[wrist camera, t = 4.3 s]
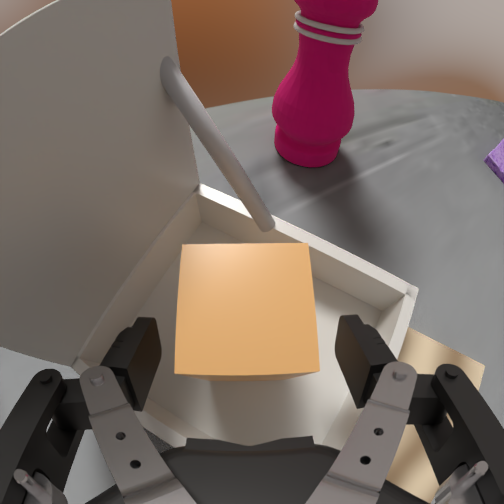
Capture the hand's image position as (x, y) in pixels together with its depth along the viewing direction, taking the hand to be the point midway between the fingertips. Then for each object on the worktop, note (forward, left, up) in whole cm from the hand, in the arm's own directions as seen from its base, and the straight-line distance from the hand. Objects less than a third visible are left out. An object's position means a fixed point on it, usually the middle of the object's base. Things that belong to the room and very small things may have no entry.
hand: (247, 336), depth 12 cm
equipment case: (0, 0, -7) cm, 7 cm away
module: (0, 0, -6) cm, 6 cm away
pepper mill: (-4, +19, -7) cm, 21 cm away
